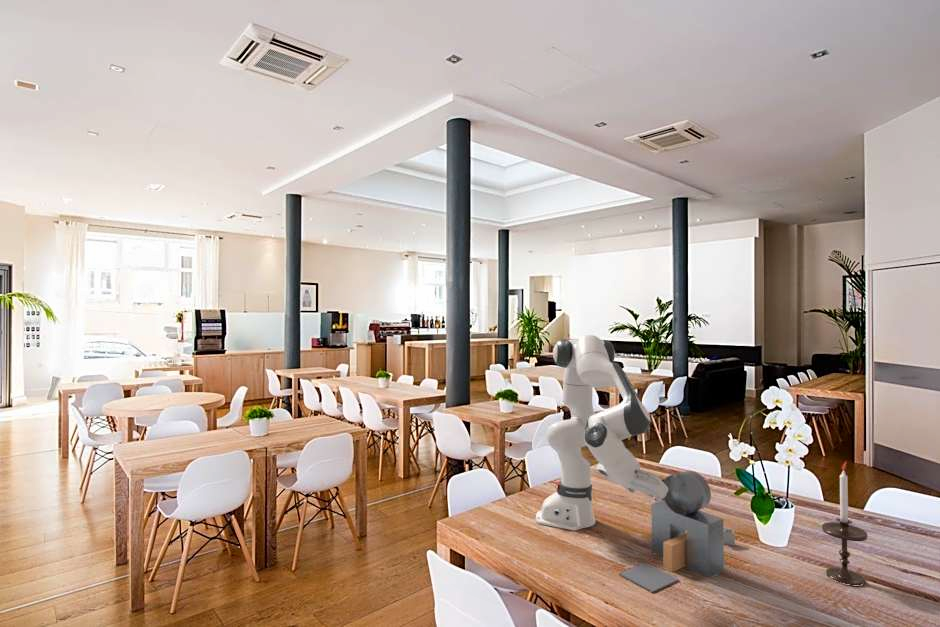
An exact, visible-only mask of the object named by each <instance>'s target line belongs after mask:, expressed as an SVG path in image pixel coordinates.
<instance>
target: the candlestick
mask: <svg viewBox="0 0 940 627" xmlns="http://www.w3.org/2000/svg"><path fill="white" fill-rule="evenodd" d="M847 464H848V463H847V461H845V462H844V463H843V465H842V466H841V469H842V472H841V474H840V475H839V514H840V515H839V517H838V518H836V519H835V520H836V521H837V522H835V521H833V522H824V523H822V524H821V531H822V532H823V533H825V534H827V535H829V536H830V537H833V538H836V539H839V540H841V549H840V550H838V554H839V555H840V556H841V558H839V562H840V563H841V568H840V567H830V568H827V569H826V571H825V574H827V575H826V576H828V577H830V578H831V579H833V580H836V581H838V582H841V583H845V584H850V585H861V584H863V583H864V584H865V578H864V577H863V576H862V575H860V574H858V573H857V572H854V571H851V570H849V569H848V566H849V565H850V563H851V562H850V561H849V558H850V556H851V552H850V551H848V542H850V541H851V542H864V541H867V540H868V533H867V531H865V530H864V529H862V528H861V527H857V526H855V525H852V524H853V521H852V520H850V519H849V495H848V494H849V493H848V492H849V491H848V490H849V489H848V487H849V486H848V483H849V482H848V475H846V474H847V473H846V467H847ZM828 577H827V578H828ZM830 578H829V579H830ZM831 579H830V580H831ZM833 580H832V581H833Z"/></svg>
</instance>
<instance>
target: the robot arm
mask: <svg viewBox="0 0 940 627" xmlns="http://www.w3.org/2000/svg"><path fill="white" fill-rule="evenodd" d="M615 352H616V351H615V347H614V345H613V343H612V342H611V341H610V340H605V339H601V338H599V337H598V336H596V335H595V334H594V335H593V334H587V335H584V336H581V337H580V338H570V339H567V338H564V339H559V340H557V341H556V342H555V344H554V347H553V349H552V357H553V360H554V363H555V365H556V366H557V367H560V368H564V371H563V379H562V380H563V381H562V397H561V398H562V404H563V405H564V406H565V407H566V408H567V409H569V411H570V412H569V413H570V416H571V417H570V418H569V419H564V420H558V421H556V422H554V423H552V424H550V425H549V426H548V428H547V430H546V441H547V443H548V445H549V446H550V448H552V449H553V450H554V451H555V452H556V454H557V455H558V458H559V462H560V475H561V478H560V479H558V480H557V481H555V491H554V493H552V494H550V495H549V496H547V497H546V498H545V499H544V500H543V503H542V505H541V509H540V510H538V511H537V513H536V514H535V522H536V523H537V524H539V525H544V526H550V527H555V528H560V529H565V530H569V531H579V530H581V529H586V528H590V527H593V526H594V525H596V519H595V514H594V510H593V504H592V502H593V486H592V483H591V482H592V478H591V476H592V475H591V473H592V469H591V468H592V467H591V464H590V462H589V460H587V459H586V458H585V457H584V456H583V453H582V448H583V447H587V448H588V450H589V451H590V454H591V455H592V457H594V458H595V460H596V461H597V462H598V464H597V466H596V468H595V470H596V471H597V472H598V473H599V474H601V475H602V477H604V478H605V479H606V480H607V481H609V482H610V483H612V484H616V485H618V486H621V487H623V488H625V489H626V490H627V491H628V492H629V493H632V494H634V493H635V491H636V492H640V493H643V494H645V495H648V496H652V497H653V498H652V499H653V500H654V501H656V502H661V501H663V500H664V498H665V496H666V494H667V492H668V487H667V486H666V485H665V484H664V482H663V481H662V480H661V478H659V476H657V475H656V474H655V473H652V472H649V471H645V470H642V469H641V465H640V462H639V461H638V459H636V457H635V456H634V455H633V453H632V452H631V451H630V450H629V449H628V448H627V447H626V446H625V444H624V442H623V440H625V439H629V438H630V437H634V436H639V435H642V434H646V433H647V431H648V429H649V427H650V425H651V422H652V420H651V416H650V413H649V411H648V409H647V407H645V405H643V403H642V401H641V399H640V397H639V396H638V394H637V392H636V390H635V389H634V387H633V385H632V382H631V381H630V379H629V378H628V376H627V374H626V373H625V372H626V371H624V369H623V368H622V367H621V366H620V365H619V364H618V363H615V362H614V361H615V358H616V353H615ZM609 387H611V388H613V387H614V388H617V389H618V392H619V394H620V396H621V397H622V399H623V400H622V401H621V402H620V403H618V404H617V405H614V406H611V407H609V408H607V409H604V410H600V411H598V412H596V413H595V411H594V407H593V388H597V389H598V388H599V389H603V388H609Z"/></svg>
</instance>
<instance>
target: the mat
mask: <svg viewBox="0 0 940 627" xmlns="http://www.w3.org/2000/svg"><path fill="white" fill-rule="evenodd" d="M618 576H620V577H622V578H624V579H626V580H628V581H629V580H630V582H631V583H633V584H634V585H637V584H638V585H640V586H642V587H644V588H645V589H644V588H643V589H644V590H646V589H647V590H646V591H648V590H649V591H648V592H650V591H651V592H654V591H656V590H658V591H660V590H662V589H664V587H665V588H666V586H667V587H669V586H671V585H673V584H675V583H677V582H680V579H679V578H678V577H675V576H673V575H671V574H669V573H667V572H665V571H663V570H661V569H659V568H656V567H655V566H653V565H651V564H649V563H646V562H644V563H641V564H639V565H636V566H634V567H631V568H629V569H627V570H624V571H621V572H620V573H618ZM638 585H637V586H638ZM668 585H669V586H668ZM640 586H639V587H640ZM642 587H641V588H642ZM661 588H662V589H661ZM659 589H660V590H659ZM651 592H650V593H651ZM656 592H657V591H656ZM654 593H655V592H654Z"/></svg>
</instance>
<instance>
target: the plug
mask: <svg viewBox="0 0 940 627" xmlns="http://www.w3.org/2000/svg"><path fill="white" fill-rule="evenodd" d="M662 558H663V559H662V560H663V564H662V565H663V567H664V568H663V569H665V568H666V569H665V570H667V569H668V570H667V571H669V570H670V571H669V572H671V571H673V572H675V571H677V570H679V569H678V568H680V569H682V568H684V567H686V566H687V532H686V534H683V535H681V536H678V537H676V538H673V539H670V540H668V541H665V542H663V557H662ZM685 565H686V566H685ZM683 566H684V567H683ZM681 567H682V568H681ZM676 569H677V570H676ZM674 570H675V571H674Z"/></svg>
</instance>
